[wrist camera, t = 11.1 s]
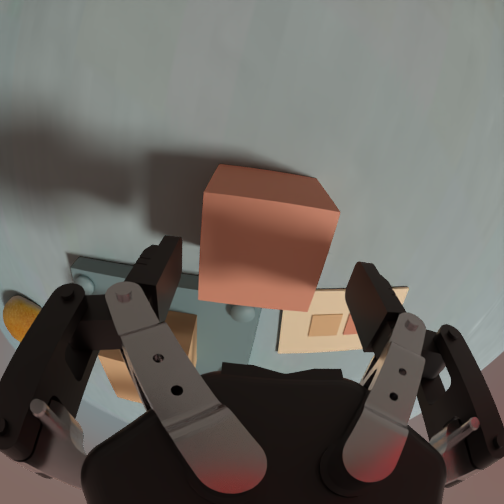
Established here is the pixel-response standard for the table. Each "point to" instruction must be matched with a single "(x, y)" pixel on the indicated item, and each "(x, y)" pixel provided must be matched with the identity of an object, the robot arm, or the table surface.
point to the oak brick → (115, 365)
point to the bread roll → (19, 316)
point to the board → (186, 301)
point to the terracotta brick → (264, 238)
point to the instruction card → (323, 324)
